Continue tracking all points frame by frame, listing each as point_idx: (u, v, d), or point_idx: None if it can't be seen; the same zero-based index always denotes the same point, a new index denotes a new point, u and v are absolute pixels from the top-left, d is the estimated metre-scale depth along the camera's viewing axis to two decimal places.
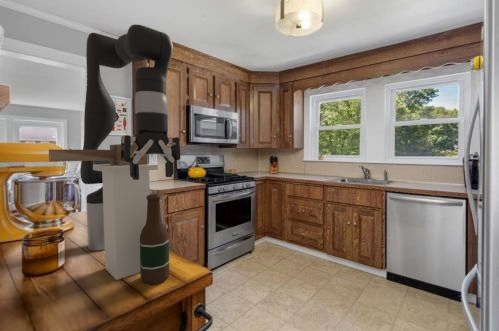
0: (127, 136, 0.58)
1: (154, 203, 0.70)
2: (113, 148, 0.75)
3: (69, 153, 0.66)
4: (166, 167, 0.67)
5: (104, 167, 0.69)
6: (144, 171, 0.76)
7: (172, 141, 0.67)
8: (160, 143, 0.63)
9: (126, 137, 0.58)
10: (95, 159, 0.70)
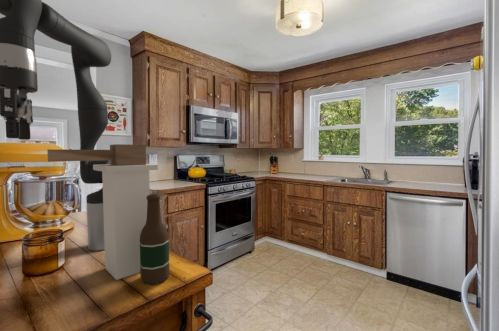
0: (15, 90, 0.55)
1: (154, 203, 0.70)
2: (112, 148, 0.75)
3: (66, 153, 0.66)
4: (21, 129, 0.63)
5: (104, 167, 0.69)
6: (144, 171, 0.76)
7: None
8: (29, 103, 0.62)
9: (15, 91, 0.55)
10: (93, 159, 0.70)
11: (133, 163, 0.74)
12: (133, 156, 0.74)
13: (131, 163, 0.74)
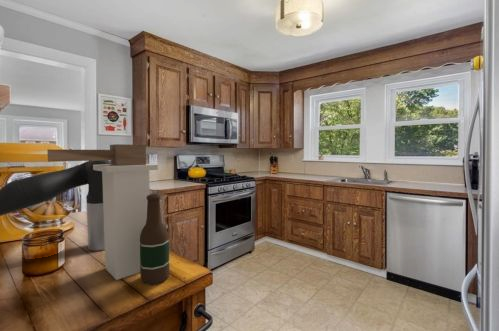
0: None
1: (154, 203, 0.70)
2: (112, 148, 0.75)
3: (66, 153, 0.66)
4: None
5: (104, 167, 0.69)
6: (144, 171, 0.76)
7: None
8: None
9: None
10: (93, 159, 0.70)
11: (133, 163, 0.74)
12: (133, 156, 0.74)
13: (131, 163, 0.74)
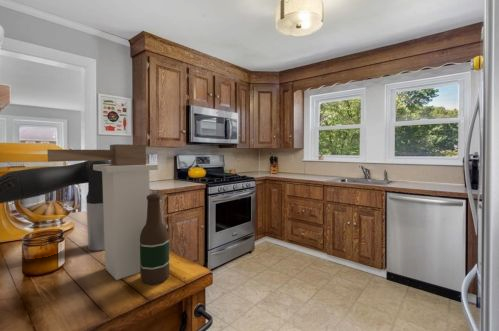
0: None
1: (154, 203, 0.70)
2: (112, 148, 0.75)
3: (66, 153, 0.66)
4: None
5: (104, 167, 0.69)
6: (144, 171, 0.76)
7: None
8: None
9: None
10: (93, 159, 0.70)
11: (133, 163, 0.74)
12: (133, 156, 0.74)
13: (131, 163, 0.74)
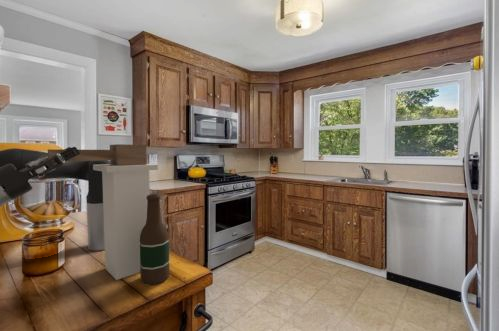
0: (33, 167, 0.57)
1: (154, 203, 0.70)
2: (112, 148, 0.75)
3: None
4: None
5: (104, 167, 0.69)
6: (144, 171, 0.76)
7: None
8: (29, 162, 0.62)
9: (35, 166, 0.57)
10: (93, 159, 0.70)
11: (134, 163, 0.75)
12: (134, 156, 0.75)
13: (132, 163, 0.74)
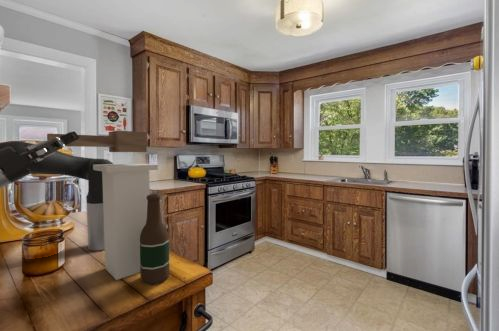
0: (34, 148, 0.57)
1: (154, 203, 0.70)
2: (112, 135, 0.75)
3: None
4: None
5: (104, 167, 0.69)
6: (144, 171, 0.76)
7: None
8: (28, 146, 0.62)
9: (36, 147, 0.57)
10: (94, 145, 0.69)
11: (134, 150, 0.75)
12: (134, 143, 0.75)
13: (132, 150, 0.74)
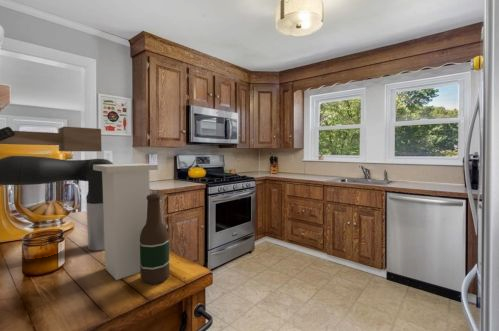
0: None
1: (154, 203, 0.70)
2: (60, 132, 0.66)
3: None
4: None
5: (104, 167, 0.69)
6: (144, 171, 0.76)
7: None
8: None
9: None
10: (35, 143, 0.61)
11: (85, 149, 0.66)
12: (86, 141, 0.66)
13: (83, 149, 0.65)
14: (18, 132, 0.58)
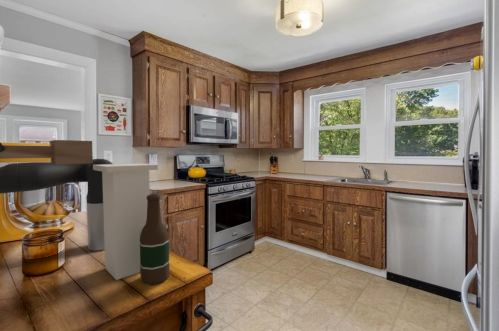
0: None
1: (154, 203, 0.70)
2: (52, 144, 0.66)
3: None
4: None
5: (104, 167, 0.69)
6: (144, 171, 0.76)
7: None
8: None
9: None
10: (26, 156, 0.61)
11: (76, 161, 0.66)
12: (77, 154, 0.66)
13: (74, 161, 0.66)
14: (9, 147, 0.59)
